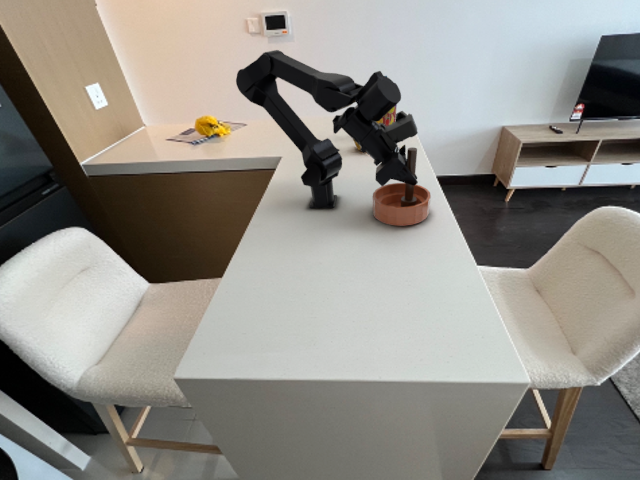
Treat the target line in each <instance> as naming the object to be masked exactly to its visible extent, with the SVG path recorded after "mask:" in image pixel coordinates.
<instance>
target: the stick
mask: <svg viewBox="0 0 640 480" xmlns="http://www.w3.org/2000/svg"><path fill="white" fill-rule="evenodd" d="M406 151H407V153H406V159H407V167H408V168H409V170H410V171H411V173H412V174H413V175H414V177H415V174H416V170H417V169H416V167H417V156H418V148H417V147H408V148H407V150H406ZM413 195H414V186H413V185H410V184H407V183H405V196H403V197H402V198H401V207H409V206H415V205H416V201H417V199H416V197H414V196H413Z"/></svg>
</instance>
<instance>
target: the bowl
mask: <svg viewBox="0 0 640 480" xmlns="http://www.w3.org/2000/svg"><path fill="white" fill-rule="evenodd" d="M403 196H405V183H404V182H394V183H387V184H385V185H384V186H381V185H380V187H377V188H376V189H375V190H374V191H373V193H372V214H373V217H374V218H376V220H377V221H379V222H381V223H383V224H387V225H390V226H391V225H392V226H399V227H400V226H401V227H403V226H404V227H405V226H411V225H415V224H418V223H421V222H423V221H424V220H426V219H427V218H428V216H429V215H430V207H431V198H432V196H431V192H430V191H429V190H428V189H427V188H426V187H424V186H422V185H420V184H416V185H415V186H414V195H413V196H414V197H416V199H417V201H416V205H415V206H409V207H401V198H402V197H403Z"/></svg>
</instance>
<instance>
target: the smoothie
mask: <svg viewBox="0 0 640 480" xmlns="http://www.w3.org/2000/svg"><path fill="white" fill-rule="evenodd" d="M385 76H386V77H388V75H385ZM397 106H398V103H397V104H396V105H395V106H394V107H393V108H392V109H391V110H390V111H389V112H388V113H387V114H386V115H385V116H384V117H383V124H384V125H385V126H386V127H387V126H389V125H391V124H392V122H395V121H396V114H397Z"/></svg>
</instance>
